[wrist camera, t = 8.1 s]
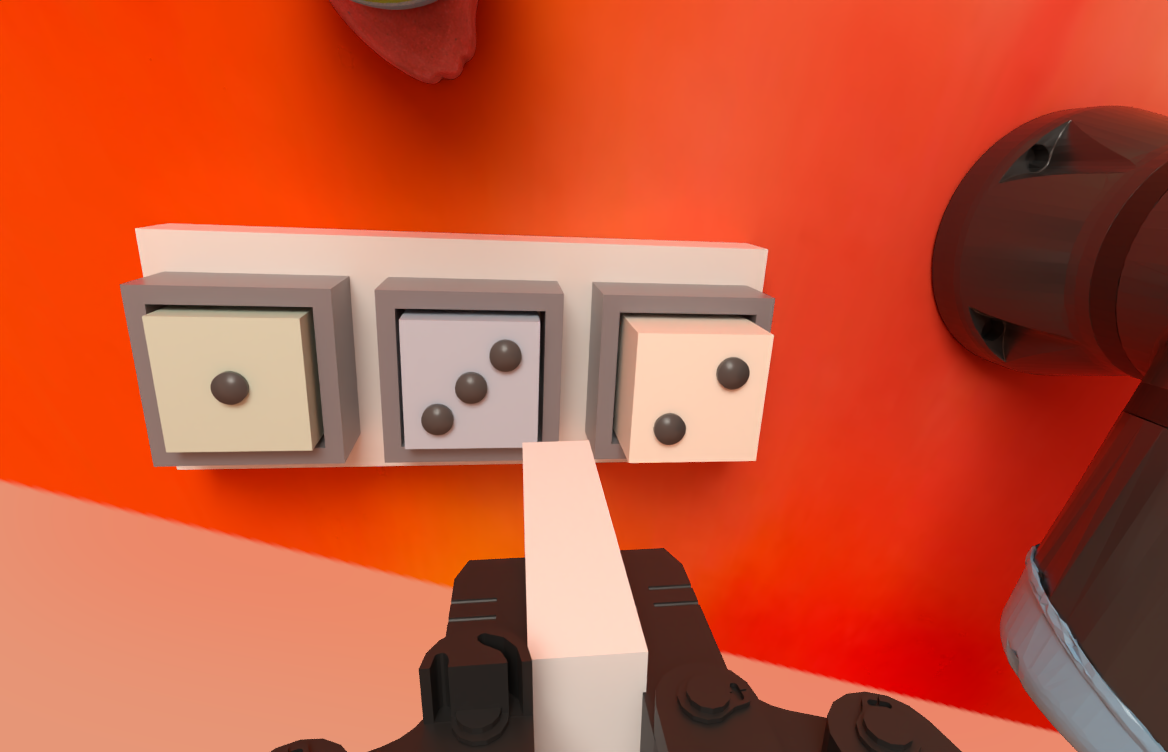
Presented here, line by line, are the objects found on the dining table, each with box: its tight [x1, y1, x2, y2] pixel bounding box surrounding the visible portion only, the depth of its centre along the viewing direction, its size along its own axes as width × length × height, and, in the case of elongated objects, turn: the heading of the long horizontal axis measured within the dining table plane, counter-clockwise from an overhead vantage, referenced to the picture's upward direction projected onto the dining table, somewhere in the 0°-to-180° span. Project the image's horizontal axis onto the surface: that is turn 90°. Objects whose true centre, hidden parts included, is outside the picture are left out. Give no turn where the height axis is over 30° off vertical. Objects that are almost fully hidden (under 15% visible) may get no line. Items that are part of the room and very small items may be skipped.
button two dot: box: [613, 313, 774, 463], centre depth 29 cm, size 6×6×4 cm
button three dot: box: [399, 309, 540, 449], centre depth 29 cm, size 6×6×4 cm
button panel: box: [120, 223, 775, 470], centre depth 31 cm, size 30×12×6 cm, turn 88°
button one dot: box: [142, 305, 324, 452], centre depth 28 cm, size 6×6×4 cm
